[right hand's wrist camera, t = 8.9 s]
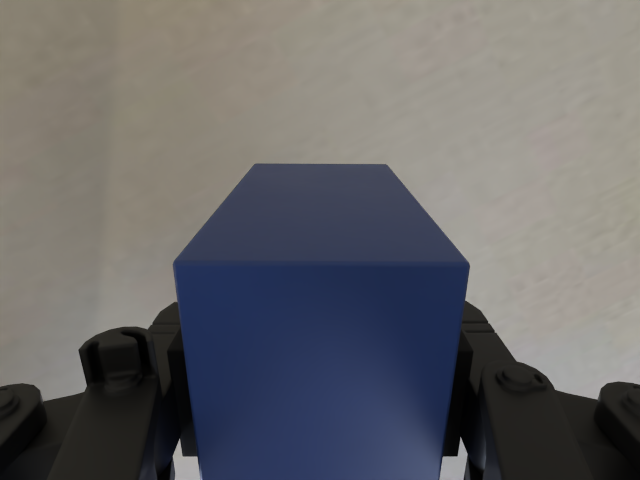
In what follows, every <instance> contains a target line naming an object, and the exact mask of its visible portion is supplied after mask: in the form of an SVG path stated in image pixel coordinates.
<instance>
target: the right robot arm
mask: <svg viewBox="0 0 640 480" xmlns="http://www.w3.org/2000/svg"><path fill="white" fill-rule="evenodd" d="M79 354H80V358H81V363H82V367H83V371H84V375H85V379H86V383H87V387H86V390H85V392H83V393H79V394H76V395H72V396H67V397H62V398H57V399H53V400H48V401H43V400H42V396H41V393H40V390H39V389H38V388H36V387H35V386H34V385H29V384H23V383H22V384H13V385H6V386H2V387H0V480H174V479H175V469H174V462H173V454H174V451H175V449H176V446H177V444H178V441H179V439H180V441H181V448H182V454H183V456H197V448H196V441H195V433H194V425H193V417H192V410H191V402H190V394H189V386H188V379H187V371H186V363H185V355H184V348H183V340H182V332H181V324H180V317H179V309H178V302H174V303H172V304H171V305H169V306H168V307H167V308H165V309H164V310H162V311H161V312H160V313H159V314H158V316H157V317H156V319H155V320H154V321H153V324H152V325H151V326H150V327H149V328H148V330H147V329H144V328H140V327H120V328H116V329H111V330H108V331H105V332H103V333H100V334H97V335H95V336H94V337H92V338H91V339H89V340H88V341H86V342H85V343H84V344H83V345H82V346H81V348H80V349H79ZM460 437H461V438H462V441H463V443H464V446H465V448H466V451H467V453H468V456H467V462H466V468H465V474H464V480H640V385H638V384H634V383H626V382H613V383H607V384H606V385H605V386H604V387H602V388H601V391H600V394H599V397H598V400H596V399H591V398H587V397H582V396H577V395H572V394H568V393H564V392H560V391H557V390H555V389H554V387H553V385H552V383H551V382H550V381H549V379H548V378H547V377H546V376H545V375H544V374H542V373H541V372H540V371H538V370H537V369H535V368H533V367H531V366H528V365H526V364H524V363H520V362H516V360H515V359H514V357H513V356H512V355H511V353H510V352H509V350H508V349H507V347H506V346H505V345H504V343H503V342H502V340H501V339H500V338H499V336H498V335H497V333H495V332H494V329H493V328H492V326H491V325H490V324H488V321H487V319H486V318H485V316H484V315H483V314H482V312H481V311H480V310H479V309H477V308H476V307H474V306H473V305H471V304H470V303H469V302H467V301H465V304H464V311H463V318H462V325H461V332H460V339H459V345H458V352H457V359H456V366H455V373H454V380H453V387H452V394H451V401H450V408H449V415H448V422H447V429H446V436H445V443H444V450H443V456H458V450H459V443H460Z"/></svg>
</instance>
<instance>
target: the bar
mask: <svg viewBox="0 0 640 480" xmlns="http://www.w3.org/2000/svg"><path fill="white" fill-rule="evenodd" d="M469 269H470V265H469V262H468V261H467V260H466V259H465V258H464V256H463V255H462V254H461V253H460V252H459V250H458V249H457V248H456V247H455V246H454V244H453V243H452V242H451V241H450V240H449V238H448V237H447V236H446V235H445V234H444V232H443V231H442V230H441V229H440V228H439V226H438V225H437V224H436V223H435V222H434V220H433V219H432V218H431V217H430V216H429V215H428V213H427V212H426V211H425V210H424V209H423V207H422V206H421V205H420V204H419V203H418V201H417V200H416V199H415V198H414V197H413V195H412V194H411V193H410V192H409V191H408V189H407V188H406V187H405V186H404V185H403V183H402V182H401V181H400V180H399V179H398V177H397V176H396V175H395V174H394V173H393V171H392V170H391V169H390V168H389V167H388V165H386V164H254V165H253V167H252V168H251V169H250V170H249V171H248V173H247V174H246V175H245V176H244V178H243V179H242V180H241V181H240V182H239V184H238V185H237V186H236V187H235V188H234V190H233V191H232V192H231V193H230V194H229V196H228V197H227V198H226V199H225V200H224V202H223V203H222V204H221V205H220V206H219V208H218V209H217V210H216V211H215V212H214V214H213V215H212V216H211V217H210V218H209V220H208V221H207V222H206V223H205V224H204V226H203V227H202V228H201V229H200V230H199V232H198V233H197V234H196V235H195V236H194V238H193V239H192V240H191V241H190V242H189V244H188V245H187V246H186V247H185V248H184V250H183V251H182V252H181V253H180V254H179V256H178V257H177V258H176V259H175V260H174V262H173V270H174V278H175V285H176V293H177V301H178V309H179V317H180V324H181V332H182V340H183V348H184V355H185V363H186V371H187V379H188V386H189V394H190V402H191V410H192V417H193V425H194V433H195V441H196V448H197V456H198V464H199V472H200V479H201V480H439V478H440V471H441V464H442V457H443V450H444V443H445V436H446V429H447V422H448V415H449V408H450V401H451V394H452V387H453V380H454V373H455V366H456V359H457V352H458V345H459V339H460V332H461V325H462V318H463V311H464V304H465V297H466V290H467V283H468V276H469Z"/></svg>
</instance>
